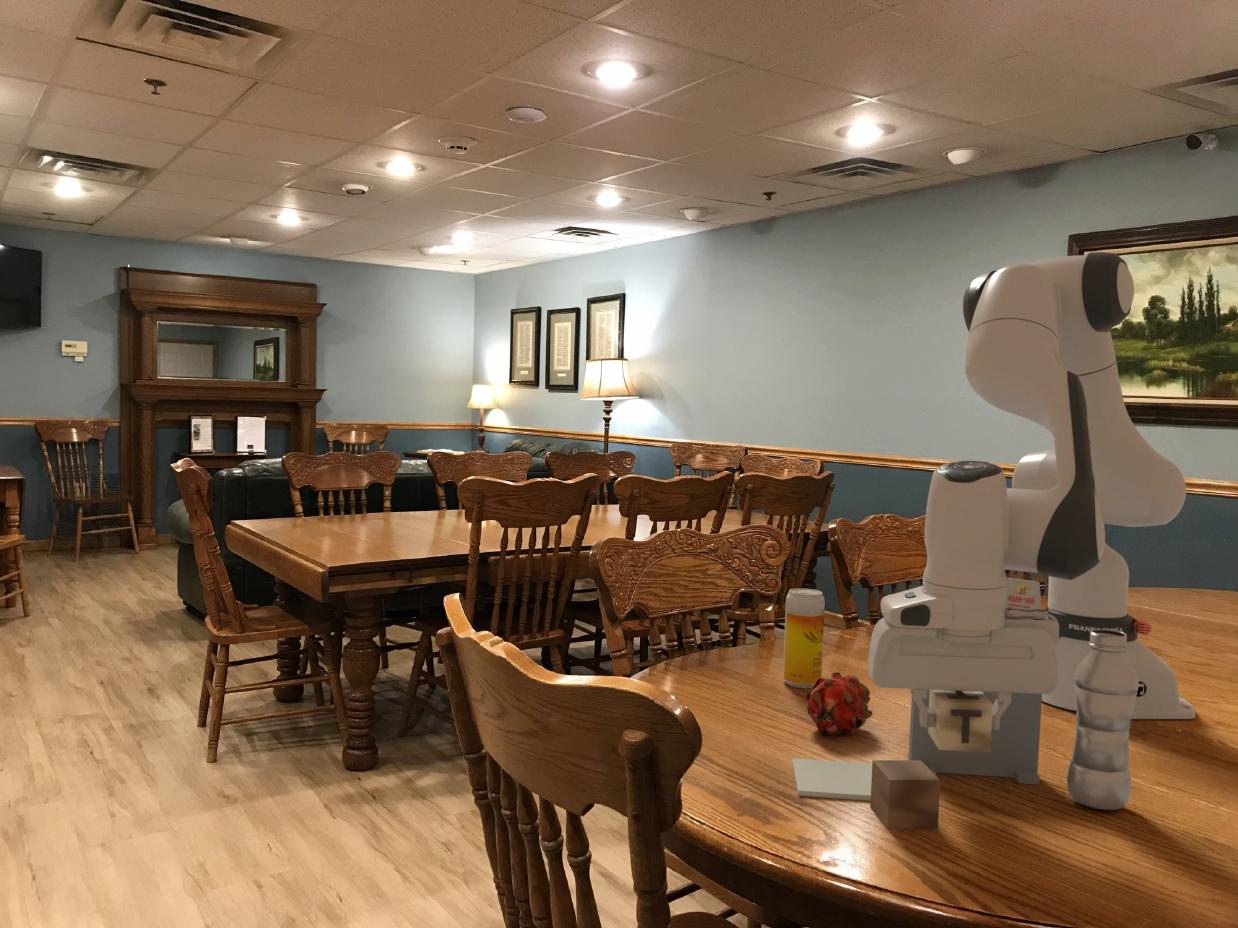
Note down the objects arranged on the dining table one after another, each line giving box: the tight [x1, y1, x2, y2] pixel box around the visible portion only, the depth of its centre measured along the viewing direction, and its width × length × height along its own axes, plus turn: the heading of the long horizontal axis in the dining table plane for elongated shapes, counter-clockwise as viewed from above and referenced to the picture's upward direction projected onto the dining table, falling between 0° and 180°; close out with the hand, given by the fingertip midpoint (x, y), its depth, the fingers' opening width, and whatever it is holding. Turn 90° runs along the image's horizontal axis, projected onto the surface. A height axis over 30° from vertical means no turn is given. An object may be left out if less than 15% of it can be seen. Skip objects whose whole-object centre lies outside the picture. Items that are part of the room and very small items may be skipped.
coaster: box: [791, 757, 872, 802], centre depth 113 cm, size 10×10×1 cm
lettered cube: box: [928, 690, 992, 752], centre depth 107 cm, size 6×6×6 cm
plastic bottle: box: [1065, 629, 1139, 811], centre depth 108 cm, size 6×7×20 cm
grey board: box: [907, 690, 1043, 785], centre depth 117 cm, size 15×5×12 cm, turn 84°
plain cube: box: [869, 759, 941, 831], centre depth 103 cm, size 6×6×6 cm
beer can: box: [782, 588, 826, 689], centre depth 152 cm, size 6×6×15 cm
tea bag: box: [1006, 577, 1042, 610], centre depth 198 cm, size 4×7×10 cm, turn 51°
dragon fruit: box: [805, 671, 873, 736], centre depth 131 cm, size 8×8×12 cm
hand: (958, 727), depth 107 cm, fingers closed on lettered cube, 5 cm apart
